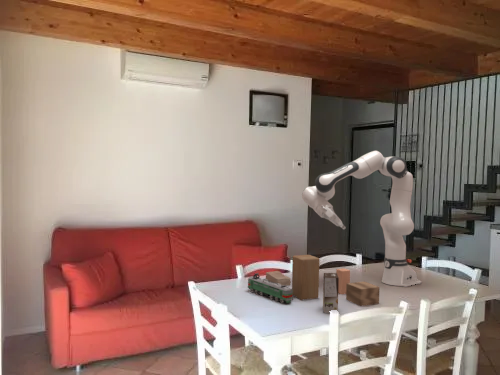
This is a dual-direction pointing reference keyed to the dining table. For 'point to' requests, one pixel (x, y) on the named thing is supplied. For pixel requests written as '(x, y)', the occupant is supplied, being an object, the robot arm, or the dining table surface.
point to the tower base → (362, 293)
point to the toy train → (270, 289)
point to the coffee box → (330, 292)
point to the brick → (278, 278)
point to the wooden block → (305, 277)
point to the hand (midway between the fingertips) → (343, 226)
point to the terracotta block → (343, 279)
